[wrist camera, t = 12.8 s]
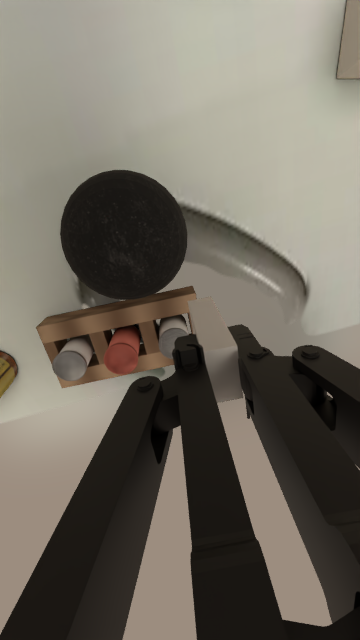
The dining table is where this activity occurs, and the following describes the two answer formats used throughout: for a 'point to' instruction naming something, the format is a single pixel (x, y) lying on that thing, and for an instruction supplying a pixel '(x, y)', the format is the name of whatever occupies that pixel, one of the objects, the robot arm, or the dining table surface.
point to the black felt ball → (123, 234)
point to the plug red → (123, 350)
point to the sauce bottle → (6, 372)
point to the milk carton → (350, 43)
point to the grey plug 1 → (73, 358)
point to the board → (115, 316)
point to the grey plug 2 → (171, 333)
